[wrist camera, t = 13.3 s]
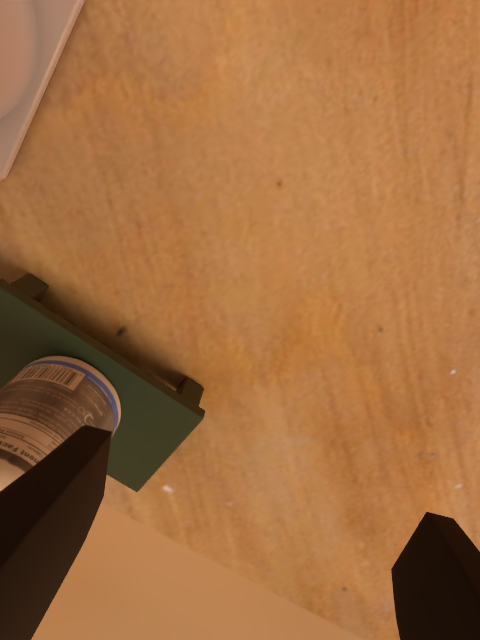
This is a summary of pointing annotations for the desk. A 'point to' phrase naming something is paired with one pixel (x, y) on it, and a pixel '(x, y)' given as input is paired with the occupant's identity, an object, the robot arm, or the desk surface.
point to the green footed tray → (127, 379)
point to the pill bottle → (50, 410)
